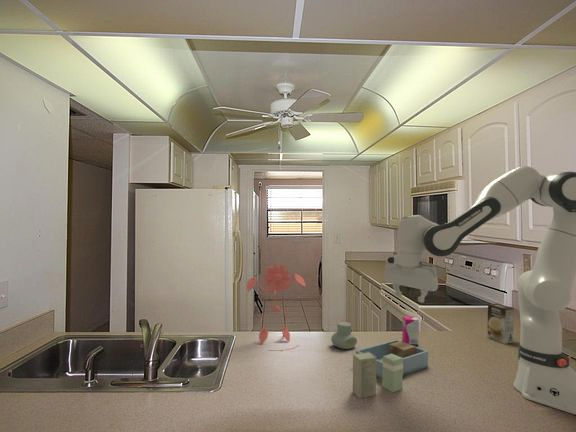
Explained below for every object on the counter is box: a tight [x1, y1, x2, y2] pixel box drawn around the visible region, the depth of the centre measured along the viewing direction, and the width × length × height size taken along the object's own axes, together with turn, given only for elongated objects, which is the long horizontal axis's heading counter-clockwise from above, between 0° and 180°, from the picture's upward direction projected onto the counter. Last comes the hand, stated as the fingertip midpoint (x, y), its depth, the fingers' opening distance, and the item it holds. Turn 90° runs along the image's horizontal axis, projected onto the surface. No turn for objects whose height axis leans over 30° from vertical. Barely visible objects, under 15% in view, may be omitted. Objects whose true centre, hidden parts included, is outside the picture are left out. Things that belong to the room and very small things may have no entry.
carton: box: [381, 354, 404, 393], centre depth 113 cm, size 5×5×10 cm
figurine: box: [246, 263, 307, 352], centre depth 149 cm, size 15×26×35 cm, turn 103°
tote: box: [354, 339, 429, 381], centre depth 129 cm, size 15×24×6 cm, turn 124°
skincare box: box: [352, 352, 377, 399], centre depth 109 cm, size 6×4×12 cm
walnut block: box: [389, 340, 417, 358], centre depth 133 cm, size 7×7×6 cm
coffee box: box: [486, 302, 515, 345], centre depth 161 cm, size 9×6×16 cm
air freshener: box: [330, 321, 358, 350], centre depth 148 cm, size 11×8×10 cm
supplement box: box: [401, 315, 420, 346], centre depth 154 cm, size 6×6×12 cm
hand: (409, 299), depth 122 cm, fingers open, 8 cm apart
